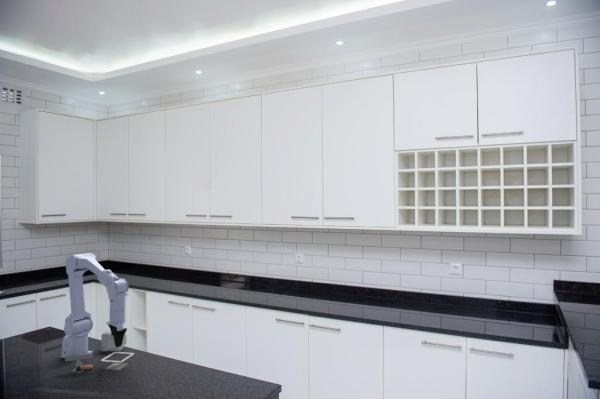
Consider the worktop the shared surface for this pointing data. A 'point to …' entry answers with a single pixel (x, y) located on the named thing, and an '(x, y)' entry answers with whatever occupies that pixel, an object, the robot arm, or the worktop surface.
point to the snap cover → (112, 344)
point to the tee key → (79, 360)
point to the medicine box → (105, 342)
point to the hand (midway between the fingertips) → (117, 343)
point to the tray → (117, 361)
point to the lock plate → (113, 367)
